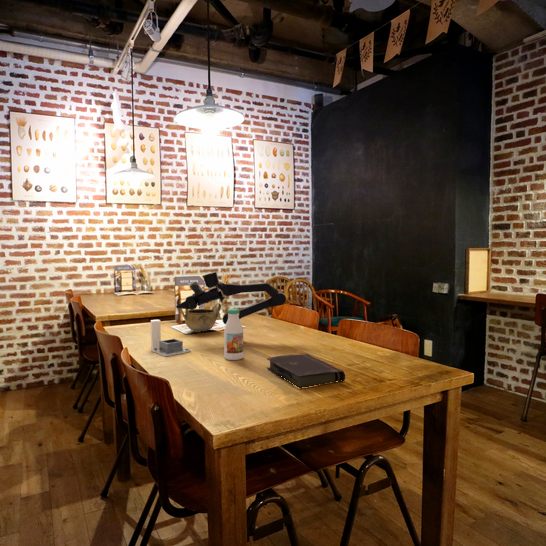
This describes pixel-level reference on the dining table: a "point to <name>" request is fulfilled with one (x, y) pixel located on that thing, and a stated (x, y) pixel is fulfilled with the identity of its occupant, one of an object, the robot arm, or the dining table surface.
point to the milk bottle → (233, 336)
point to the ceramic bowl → (201, 318)
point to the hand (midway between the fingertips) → (178, 305)
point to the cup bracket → (170, 347)
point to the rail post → (155, 333)
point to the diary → (304, 370)
